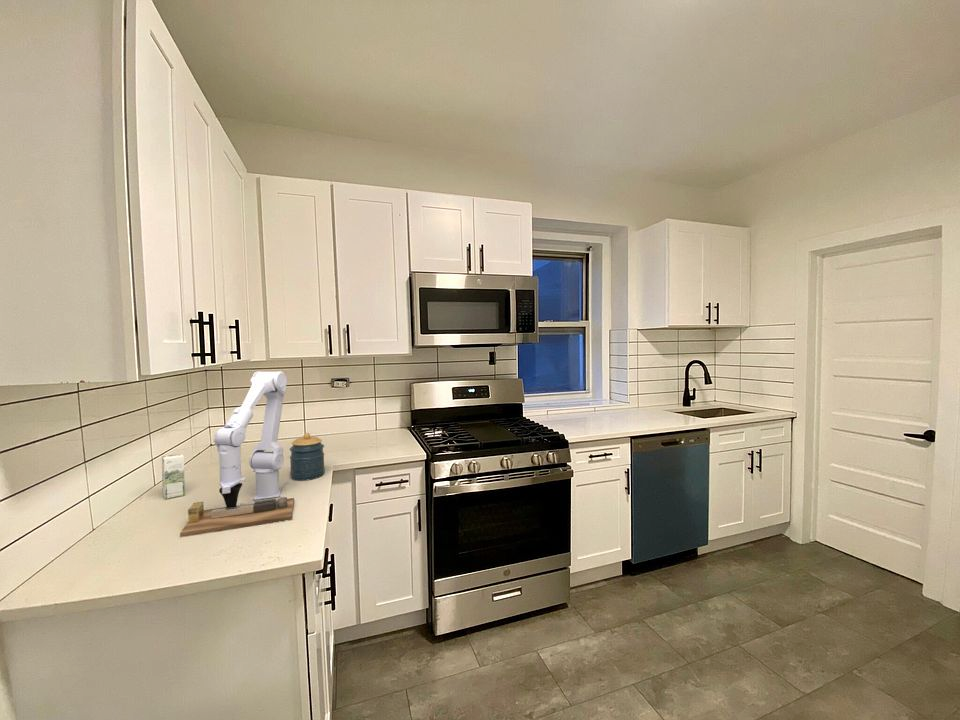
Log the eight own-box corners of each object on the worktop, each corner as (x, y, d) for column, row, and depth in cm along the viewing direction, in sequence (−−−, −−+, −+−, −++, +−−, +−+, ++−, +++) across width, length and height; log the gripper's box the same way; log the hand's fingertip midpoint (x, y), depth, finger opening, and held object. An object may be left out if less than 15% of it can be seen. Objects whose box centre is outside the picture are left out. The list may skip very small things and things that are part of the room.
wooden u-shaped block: (194, 515, 122) (193, 502, 122) (203, 514, 123) (203, 501, 123) (188, 523, 117) (188, 509, 117) (198, 521, 118) (198, 508, 118)
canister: (286, 482, 156) (285, 437, 156) (294, 472, 169) (293, 430, 168) (321, 479, 159) (320, 435, 158) (327, 469, 172) (326, 429, 171)
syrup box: (182, 491, 147) (181, 452, 147) (185, 495, 143) (184, 455, 142) (162, 495, 143) (161, 455, 143) (165, 500, 139) (163, 458, 138)
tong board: (196, 514, 126) (195, 503, 126) (294, 501, 137) (293, 490, 137) (180, 537, 111) (179, 523, 111) (291, 519, 122) (291, 507, 122)
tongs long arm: (212, 516, 122) (212, 509, 122) (275, 507, 128) (275, 501, 128) (211, 518, 120) (211, 511, 120) (275, 509, 126) (274, 503, 126)
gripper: (241, 470, 120) (242, 515, 120) (248, 458, 133) (249, 498, 134) (213, 473, 117) (214, 519, 118) (224, 460, 131) (225, 502, 131)
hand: (231, 508), depth 126 cm, fingers closed
